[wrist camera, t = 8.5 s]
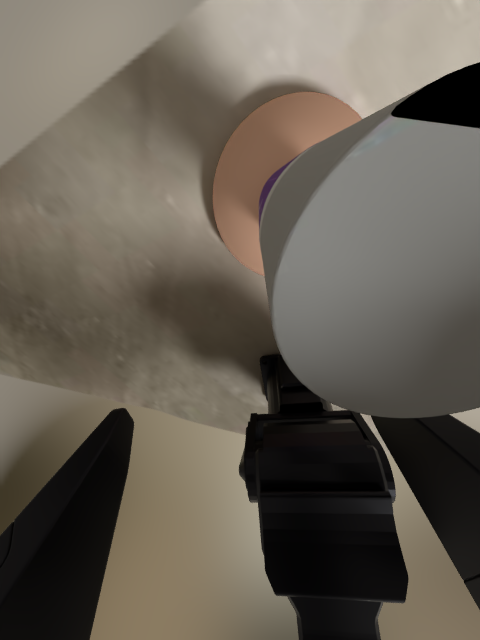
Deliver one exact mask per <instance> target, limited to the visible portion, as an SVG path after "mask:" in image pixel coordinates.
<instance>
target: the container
mask: <svg viewBox="0 0 480 640" xmlns="http://www.w3.org/2000/svg"><path fill="white" fill-rule="evenodd" d="M259 242H260V249H261V254H262V261H263V268H264V275H265V281H266V288H267V295H268V302H269V309H270V315H271V322H272V328H273V333H274V337H275V340H276V343H277V346H278V349H279V351H280V353H281V355H282V357H283V359H284V361H285V363H286V364H287V366H288V367H289V369H290V370H291V371H292V373H293V374H294V375H295V376H296V377H297V379H298V380H299V381H300V382H301V383H302V384H303V385H305V386H306V387H307V388H308V389H310V390H311V391H312V392H313V393H315V394H316V395H318V396H319V397H321V398H323V399H324V400H326V401H328V402H330V403H332V404H334V405H337V406H339V407H341V408H344V409H347V410H351V411H354V412H357V413H362V414H366V415H372V416H379V417H389V418H422V417H434V416H441V415H447V414H453V413H458V412H463V411H467V410H472V409H476V408H479V407H480V62H479V63H476V64H473V65H470V66H467V67H464V68H462V69H460V70H457V71H455V72H452V73H450V74H447V75H445V76H443V77H442V78H440V79H438V80H436V81H434V82H432V83H430V84H428V85H426V86H424V87H423V88H421V89H419V90H417V91H415V92H413V93H411V94H409V95H407V96H406V97H404V98H402V99H400V100H398V101H396V102H394V103H392V104H391V105H389V106H387V107H385V108H383V109H381V110H379V111H377V112H376V113H374V114H372V115H370V116H368V117H366V118H364V119H362V120H361V121H359V122H357V123H355V124H353V125H351V126H349V127H347V128H345V129H344V130H342V131H340V132H338V133H336V134H334V135H332V136H330V137H329V138H327V139H325V140H323V141H321V142H319V143H316V144H315V145H313V146H311V147H309V148H308V149H306V150H305V151H303V152H302V153H301V154H299V155H298V156H297V157H295V158H294V159H292V160H291V161H290V162H288V163H287V164H285V165H284V166H283V167H281V168H280V169H279V170H277V171H276V172H275V173H274V174H272V175H271V177H270V178H269V179H268V180H267V182H266V183H265V185H264V187H263V189H262V192H261V195H260V199H259Z"/></svg>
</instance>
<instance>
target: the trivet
mask: <svg viewBox="0 0 480 640" xmlns="http://www.w3.org/2000/svg"><path fill="white" fill-rule="evenodd" d="M361 120H362V118H361V117H360V115H359V114H358V113H357V112H356V111H354V110H353V109H352V108H351V107H350V106H349V105H347V104H346V103H344V102H342V101H341V100H339V99H337V98H334V97H332V96H329V95H326V94H322V93H316V92H297V93H291V94H286V95H283V96H280V97H277V98H275V99H272V100H271V101H269V102H267V103H265V104H263V105H261V106H260V107H259V108H257V109H256V110H255V111H253V112H252V113H251V114H250V115H249V116H248V117H247V118H246V119H245V120H244V121H242V122H241V124H240V125H239V126H238V127H237V129H236V130H235V131H234V132H233V134H232V135H231V137H230V139H229V140H228V142H227V144H226V145H225V147H224V150H223V152H222V154H221V156H220V159H219V162H218V165H217V168H216V172H215V177H214V183H213V210H214V216H215V220H216V224H217V227H218V230H219V232H220V235H221V237H222V239H223V241H224V243H225V245H226V246H227V248H228V249H229V250H230V252H231V253H232V254H233V255H234V256H235V258H236V259H237V260H238V261H239V262H241V263H242V264H243V265H244V266H246V267H247V268H249V269H250V270H252V271H254V272H256V273H258V274H260V275H263V276H265V275H264V268H263V261H262V254H261V249H260V242H259V199H260V195H261V192H262V189H263V187H264V185H265V183H266V182H267V180H268V179H269V178H270V177H271V175H272V174H274V173H275V172H276V171H277V170H279V169H280V168H281V167H283V166H284V165H285V164H287V163H288V162H290V161H291V160H292V159H294V158H295V157H297V156H298V155H299V154H301V153H302V152H303V151H305V150H306V149H308V148H309V147H311V146H313V145H315V144H316V143H319V142H321V141H323V140H325V139H327V138H329V137H330V136H332V135H334V134H336V133H338V132H340V131H342V130H344V129H345V128H347V127H349V126H351V125H353V124H355V123H357V122H359V121H361Z"/></svg>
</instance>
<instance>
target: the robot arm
mask: <svg viewBox="0 0 480 640" xmlns="http://www.w3.org/2000/svg"><path fill="white" fill-rule="evenodd" d="M263 361H266V362H263ZM260 367H261V372H262V378H263V383H264V389H265V394H266V400H267V401H268V414H257V413H251V418H250V422H248V427H247V428H246V441H245V448H244V452H243V455H242V459H241V462H240V465H239V474H240V476H241V477H242V478H243V480H244V481H245V483H246V488H247V491H248V497H249V501H250V502H258V508H259V520H260V533H261V544H262V551H263V554H264V559H265V571H266V574H267V576H268V579H269V581H270V584H271V586H272V588H273V591H274V593H275V594H276V595H277V596H287V597H288V599H289V601H290V602H291V604H292V606H293V608H294V609H295V611H296V614H297V624H298V634H299V640H381V639H380V632H379V625H378V616H379V613H380V610H381V608H382V605H383V602H391V603H404V602H405V600H406V594H407V586H408V573H407V570H406V566H405V562H404V559H403V555H402V551H401V548H400V544H399V540H398V536H397V532H396V526H395V521H394V516H393V507H392V503H393V502H394V501H395V497H396V496H395V495H396V494H395V483H394V478H393V474H392V470H391V467H390V464H389V461H388V459H387V456H386V454H385V452H384V449H383V448H382V446H381V444H380V443H379V441H378V440H377V438H376V437H375V435H374V434H373V432H372V431H371V429H370V428H369V426H368V425H367V423H366V422H365V420H364V419H363V418H362V416H361V415H360V413H357V412H354V411H351V410H340V411H333V409H332V406H331V403H330V402H328V401H326V400H324V399H323V398H321V397H319V396H318V395H316V394H315V393H313V392H312V391H311V390H310V389H308V388H307V387H306V386H305V385H303V384H302V383H301V382H300V381H299V380H298V379H297V377H296V376H295V375H294V374H293V373H292V371H291V370H290V369H289V367H288V366H287V364H286V363H285V361H284V359H283V357H282V355H273V356H263V357H261V358H260ZM371 417H372V420H373V422H374V424H375V426H376V428H377V430H378V432H379V434H380V436H381V437H382V439H383V441H384V443H385V444H386V446H387V448H388V450H389V451H390V453H391V455H392V456H393V458H394V460H395V462H396V464H397V465H398V467H399V469H400V471H401V472H402V474H403V476H404V477H405V479H406V481H407V483H408V484H409V486H410V488H411V490H412V492H413V493H414V495H415V497H416V499H417V500H418V502H419V504H420V506H421V507H422V509H423V511H424V513H425V514H426V516H427V518H428V520H429V521H430V523H431V525H432V527H433V529H434V530H435V532H436V534H437V536H438V537H439V539H440V541H441V542H442V544H443V546H444V548H445V549H446V551H447V553H448V555H449V557H450V558H451V560H452V562H453V563H454V565H455V567H456V569H457V571H458V572H459V574H460V576H461V578H462V579H463V580H464V583H465V585H466V587H467V588H468V590H469V592H470V594H471V595H472V597H473V599H474V601H475V603H476V604H477V606H478V608H479V609H480V433H479V432H477V431H476V430H474V429H472V428H471V427H469V426H467V425H466V424H464V423H462V422H461V421H459V420H458V419H456V418H454V417H453V416H451V415H449V414H447V415H441V416H434V417H422V418H389V417H379V416H372V415H371ZM133 430H134V421H133V419H132V417H131V416H130V414H129V413H128V411H127V410H126V409H125V408H119V409H114V410H113V411H111V412H110V413H109V414H108V415H107V417H106V418H105V419H104V420H103V421H102V422H101V423H100V424H99V425H98V427H97V428H96V429H95V430H94V431H93V432H92V433H91V434H90V436H89V437H88V438H87V439H86V440H85V441H84V442H83V443H82V444H81V446H80V447H79V448H78V449H77V450H76V451H75V452H74V454H73V455H72V456H71V457H70V458H69V459H68V460H67V461H66V463H65V464H64V465H63V466H62V467H61V468H60V469H59V470H58V472H56V474H55V475H54V476H53V477H52V478H51V479H50V481H48V483H47V484H46V485H45V486H44V487H43V488H42V489H41V491H40V492H39V493H38V494H37V495H36V496H35V497H34V498H33V499H32V501H31V502H30V503H29V504H28V505H27V506H26V507H25V509H23V511H22V512H21V513H20V514H19V515H18V516H17V517H16V519H15V521H14V522H12V523H11V524H10V525H9V526H8V527H7V529H6V530H5V531H4V532H3V533H2V534H1V535H0V640H90V635H91V631H92V627H93V622H94V618H95V613H96V609H97V605H98V600H99V596H100V592H101V587H102V582H103V579H104V574H105V569H106V565H107V561H108V557H109V552H110V548H111V544H112V539H113V535H114V530H115V526H116V522H117V517H118V513H119V509H120V504H121V500H122V496H123V491H124V486H125V482H126V478H127V473H128V467H129V462H130V454H131V445H132V438H133Z"/></svg>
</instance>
